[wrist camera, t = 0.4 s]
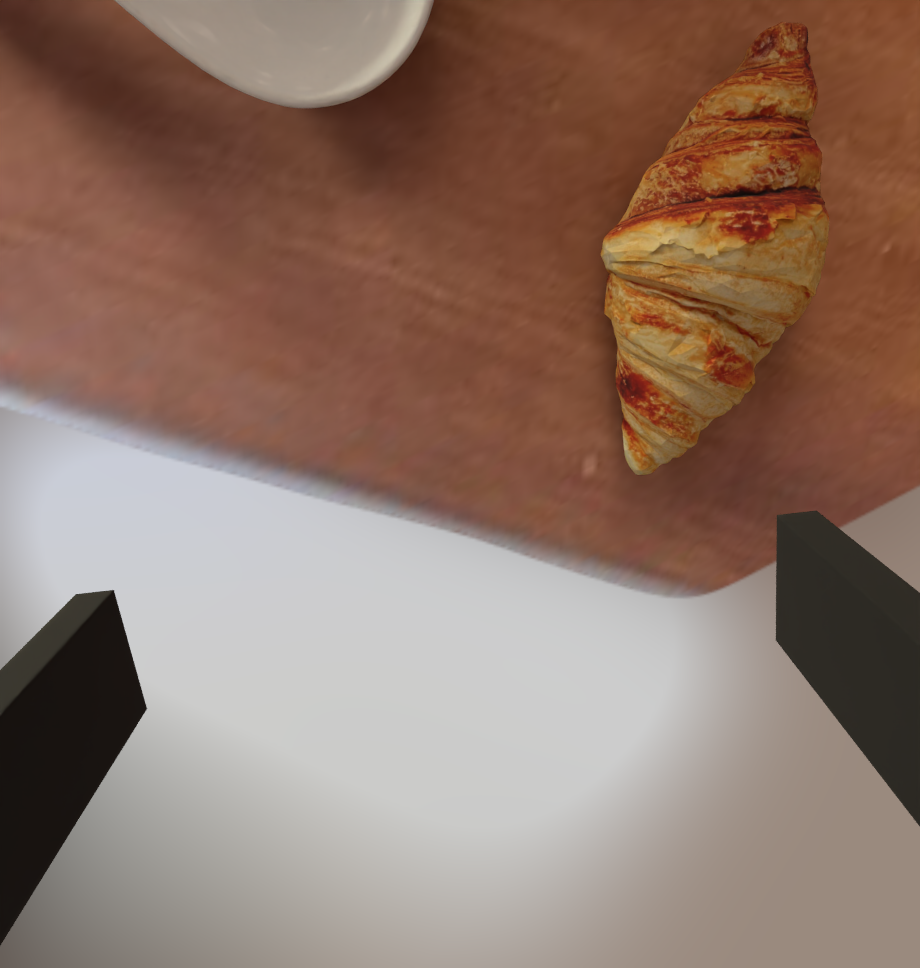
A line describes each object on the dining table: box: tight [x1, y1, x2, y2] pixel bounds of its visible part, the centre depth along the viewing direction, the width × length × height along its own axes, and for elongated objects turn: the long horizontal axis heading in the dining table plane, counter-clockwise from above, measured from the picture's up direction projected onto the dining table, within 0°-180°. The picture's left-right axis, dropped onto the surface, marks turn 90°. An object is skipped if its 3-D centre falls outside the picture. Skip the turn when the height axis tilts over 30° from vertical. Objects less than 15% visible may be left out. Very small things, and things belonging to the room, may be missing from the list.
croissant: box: [601, 22, 829, 475], centre depth 38 cm, size 21×10×8 cm
